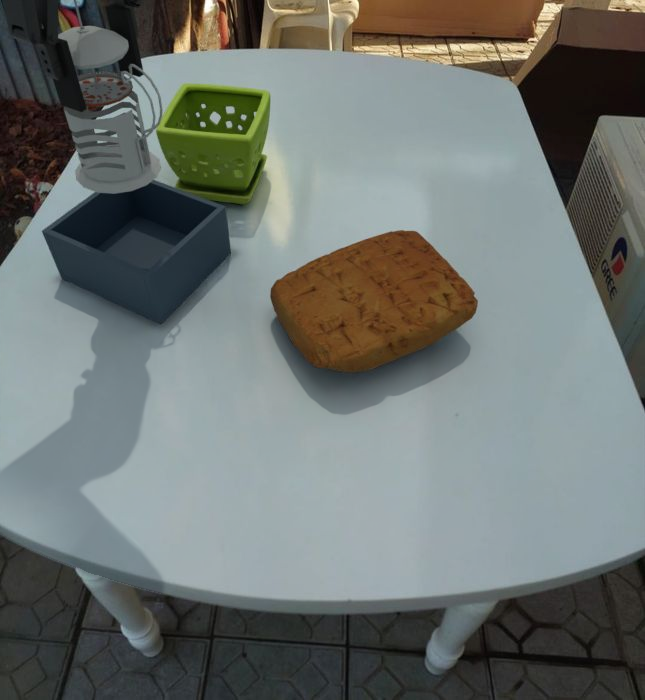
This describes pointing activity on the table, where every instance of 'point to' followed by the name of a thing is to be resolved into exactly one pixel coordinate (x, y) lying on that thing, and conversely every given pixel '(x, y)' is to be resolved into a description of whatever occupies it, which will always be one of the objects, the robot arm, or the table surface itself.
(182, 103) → the flower pot
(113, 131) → the french press
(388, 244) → the inscribed clay slab
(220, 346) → the table surface
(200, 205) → the tub
